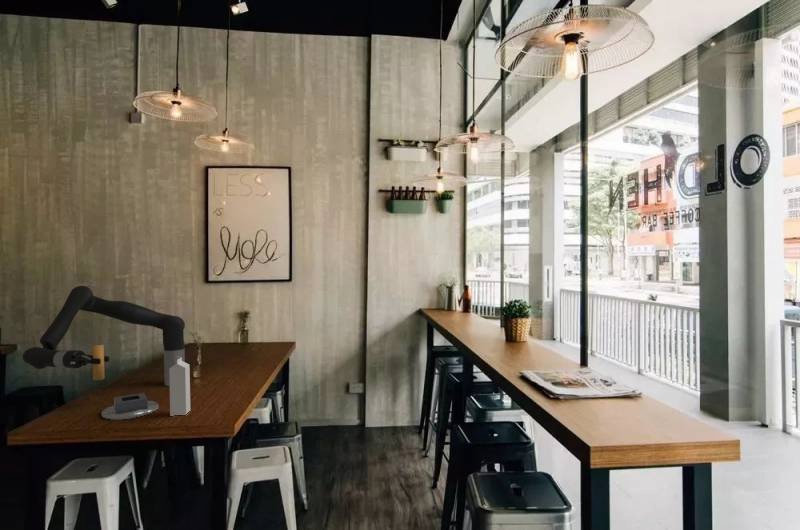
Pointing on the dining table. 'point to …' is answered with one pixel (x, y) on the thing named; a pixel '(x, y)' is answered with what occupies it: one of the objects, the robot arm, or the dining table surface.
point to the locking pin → (98, 368)
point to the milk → (179, 388)
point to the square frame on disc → (130, 407)
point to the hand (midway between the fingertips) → (104, 360)
